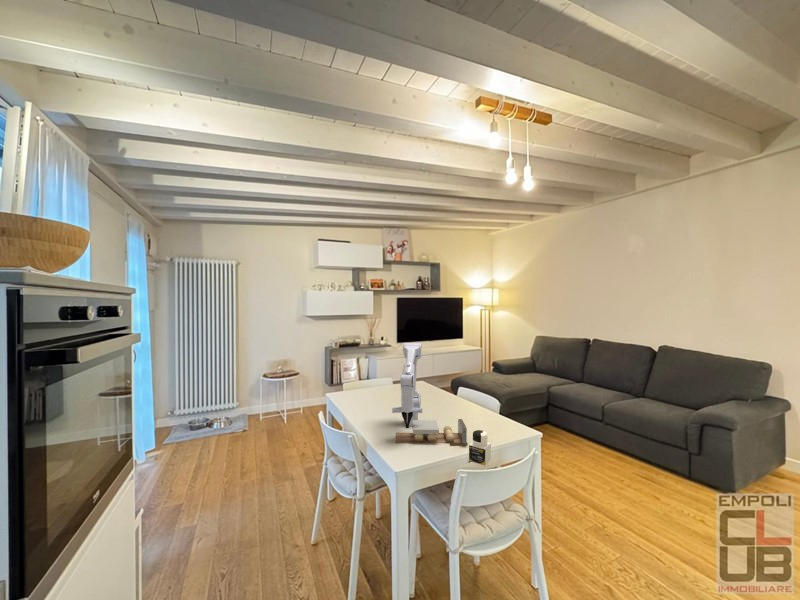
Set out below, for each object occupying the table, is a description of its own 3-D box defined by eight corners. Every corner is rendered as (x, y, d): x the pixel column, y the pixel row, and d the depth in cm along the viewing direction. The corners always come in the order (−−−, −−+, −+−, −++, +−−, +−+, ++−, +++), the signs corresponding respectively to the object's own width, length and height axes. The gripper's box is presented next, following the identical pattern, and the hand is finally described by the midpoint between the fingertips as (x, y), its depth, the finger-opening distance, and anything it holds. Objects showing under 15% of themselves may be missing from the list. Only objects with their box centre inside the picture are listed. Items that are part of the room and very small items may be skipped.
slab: (412, 424, 168) (412, 420, 168) (436, 424, 168) (436, 420, 168) (413, 433, 156) (413, 429, 156) (438, 433, 156) (438, 429, 156)
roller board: (395, 434, 168) (396, 418, 168) (462, 435, 168) (463, 419, 168) (395, 445, 156) (395, 427, 156) (467, 445, 156) (467, 428, 156)
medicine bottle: (468, 461, 141) (468, 432, 141) (475, 454, 147) (475, 427, 147) (485, 466, 137) (485, 436, 137) (491, 459, 143) (491, 431, 143)
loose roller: (442, 433, 167) (443, 425, 167) (450, 434, 167) (451, 426, 167) (445, 441, 157) (446, 433, 157) (453, 443, 157) (455, 434, 157)
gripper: (392, 401, 158) (391, 430, 158) (422, 402, 158) (422, 430, 158) (392, 397, 165) (392, 424, 165) (422, 397, 165) (421, 425, 165)
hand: (407, 427), depth 162 cm, fingers closed
